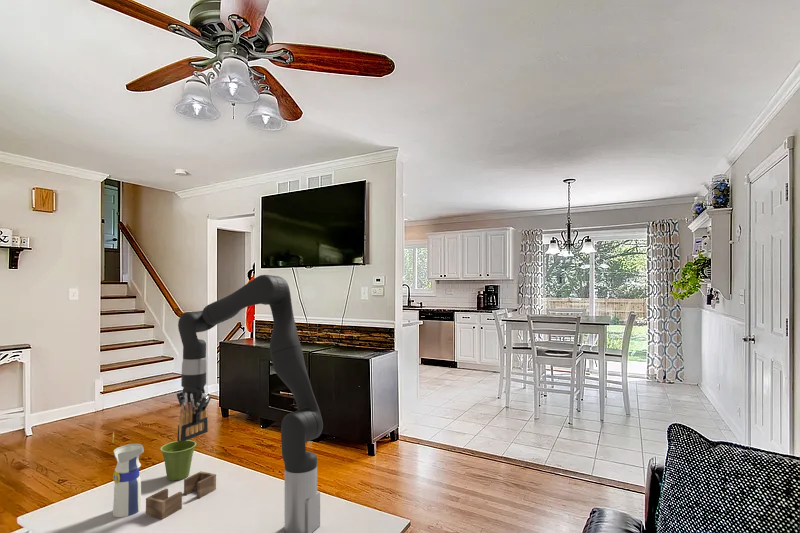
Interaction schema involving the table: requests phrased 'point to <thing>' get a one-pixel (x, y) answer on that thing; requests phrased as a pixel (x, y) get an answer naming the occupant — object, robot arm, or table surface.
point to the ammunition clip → (186, 427)
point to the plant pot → (178, 458)
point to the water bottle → (127, 480)
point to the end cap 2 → (200, 483)
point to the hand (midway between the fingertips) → (192, 423)
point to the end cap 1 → (163, 504)
